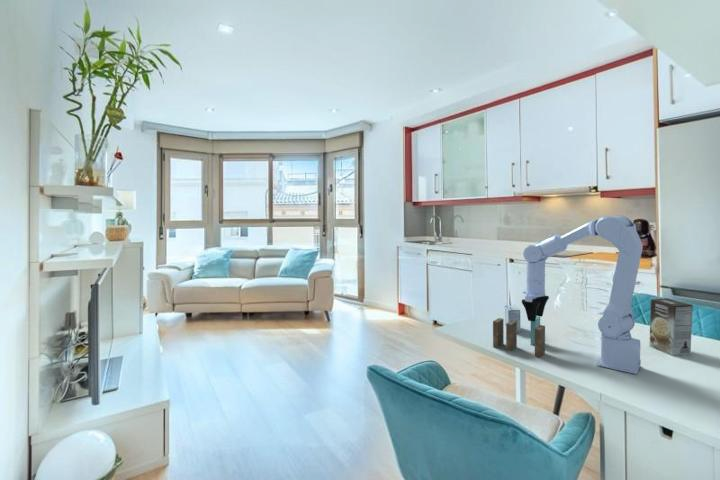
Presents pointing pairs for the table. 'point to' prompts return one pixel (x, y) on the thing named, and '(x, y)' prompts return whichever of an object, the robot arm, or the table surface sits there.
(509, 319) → the medicine box
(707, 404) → the table surface
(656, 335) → the coffee box
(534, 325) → the domino
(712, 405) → the table surface
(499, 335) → the end domino
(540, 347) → the domino
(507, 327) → the domino
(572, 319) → the table surface
